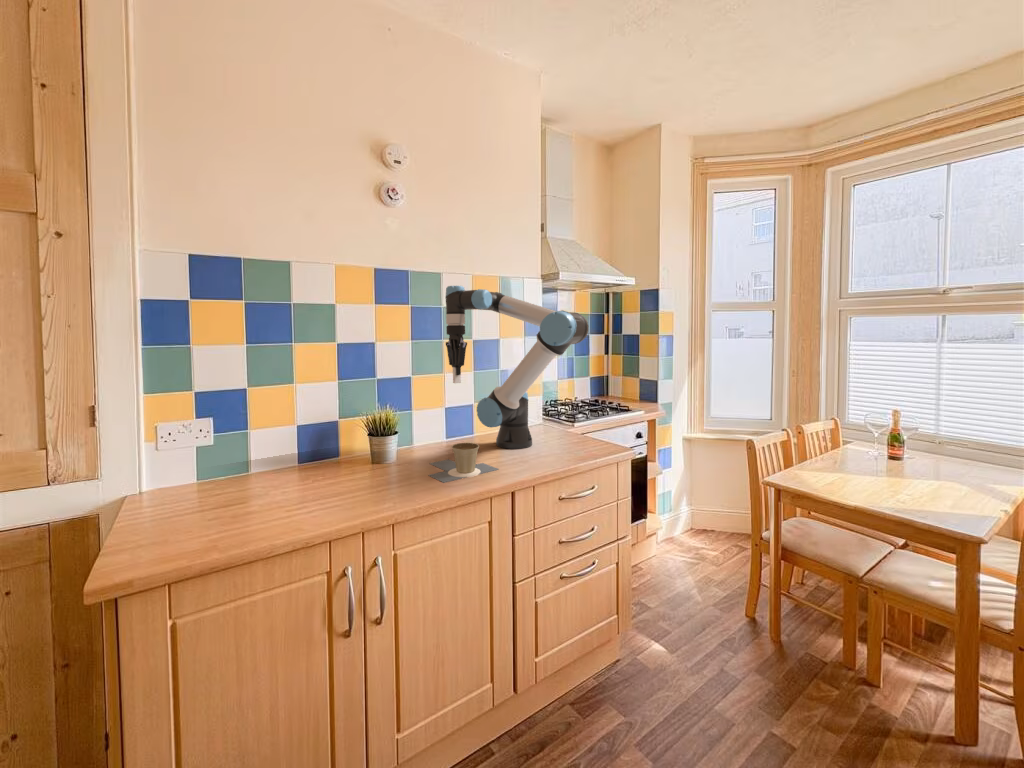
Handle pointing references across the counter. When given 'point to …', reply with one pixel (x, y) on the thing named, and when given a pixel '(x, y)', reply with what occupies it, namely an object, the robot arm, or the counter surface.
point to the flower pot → (465, 456)
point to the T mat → (452, 474)
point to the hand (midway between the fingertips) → (456, 382)
